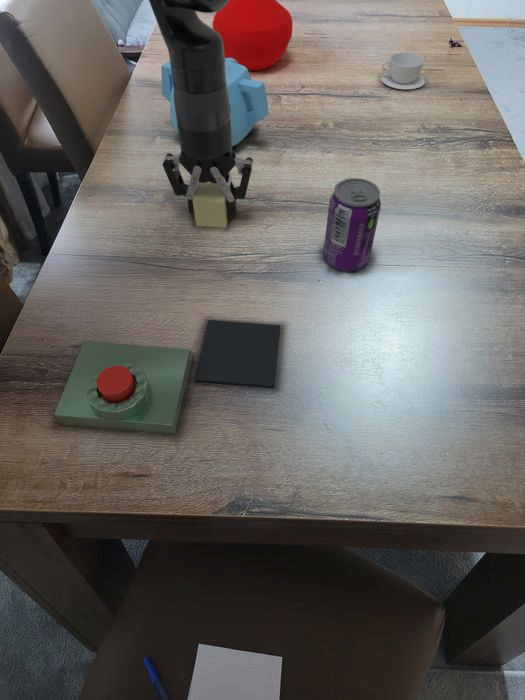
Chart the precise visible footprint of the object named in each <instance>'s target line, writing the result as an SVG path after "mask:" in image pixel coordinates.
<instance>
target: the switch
mask: <svg viewBox="0 0 525 700" xmlns="http://www.w3.org/2000/svg"><path fill="white" fill-rule="evenodd" d="M96 383H97V388H98V390H99V392H100V394H101V396H102V397H103V398H104V399H105V400H107V401H109V402H121V401H123V400H125V399H127V398H128V397H130V396H131V394H132V393H133V391H134V389H135V382H134V379H133V377H132V374H131V372H130V371H129V370H128V369H127V368H125V367H123V366H111V367H109V368H106V369H105V370H103V371H102V372H101V373H100V374H99V376H98V378H97V382H96Z"/></svg>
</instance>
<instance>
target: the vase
mask: <svg viewBox="0 0 525 700" xmlns="http://www.w3.org/2000/svg"><path fill="white" fill-rule="evenodd" d="M212 19H213V20H212V28H213V29H214V30H215V31H217V32H218V33H219V34H220V36H221V38H222V40H223V45H224V54H225V59H226V58H233V59H235V60H236V61H237V62H238V64H240V65H243V66H245V67H246V68H247V70H248V72H258V71H264V70H267V69H269V68H271V67H273V66H274V65H275V64H276V63H278V62H279V60H280V59H281V58H282V57H283V55H284V54H285V53H286V51H287V49H288V46H289V45H290V40H291V39H292V36H293V24H294V23H293V18H292V15H291V13H290V11H289V10H288V9H287V8H285V7H284V6H283V4H281V3H280V2H278V0H229V2H228V3H227V5H226V6H225V7H223V8H222V9H221V10H219V11H217V12H215V14H214V16H213V18H212Z"/></svg>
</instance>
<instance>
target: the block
mask: <svg viewBox="0 0 525 700" xmlns="http://www.w3.org/2000/svg"><path fill="white" fill-rule="evenodd" d="M193 206H194V214H195V218H194V219H195V227H209V228H225V229H226V228H227V226H228V221H229V220H227V211H226V197H225V195H224V193H223V191H221V190H220V188H219V186H218V184H215V183H211V182H206V183H199V181H198V184H197V187H196V191H195V195H194V198H193Z"/></svg>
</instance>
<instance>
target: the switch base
mask: <svg viewBox="0 0 525 700" xmlns="http://www.w3.org/2000/svg"><path fill="white" fill-rule="evenodd" d="M74 362H75V363H74V364H73V367H72V369H71V371H70V374H69V377H68V378H67V380H66V384H65V386H64V388H63V391H62V393H61V396H60V399H59V400H58V404H57V406H56V408H55V411H54V413H53V416H54V418H55V419H56V421H57V422H58V424H59V425H66V426H77V427H86V428H87V427H88V428H99V429H110V430H120V431H121V430H123V431H134V432H145V433H156V434H157V433H158V434H167V435H176V431H177V427H178V423H179V419H180V414H181V411H182V406H183V402H184V397H185V393H186V389H187V384H188V380H189V375H190V371H191V367H192V363H193V355H192V351H191V349H190V348H189V349H188V348H178V347H163V346H153V345H151V346H149V345H139V344H138V345H137V344H125V343H124V344H123V343H112V342H111V343H110V342H97V341H85V340H84V341H83V343H82V345H81V348H80V349H79V352H78V355H77V357H76V359H75V361H74ZM111 366H123V367H125V368H127V369H128V370H129V371H130V372H131V374H132V377H133V379H134V382H135V389H134V391H133V393H132V394H131V396H130V397H128V398H127V399H125V400H123V401H121V402H109V401H107V400H105V399H104V398H103V397H102V396H101V394H100V392H99V390H98V388H97V383H96V382H97V378H98V376H99V374H100V373H101V372H102V371H103V370H105V369H106V368H109V367H111Z"/></svg>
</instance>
